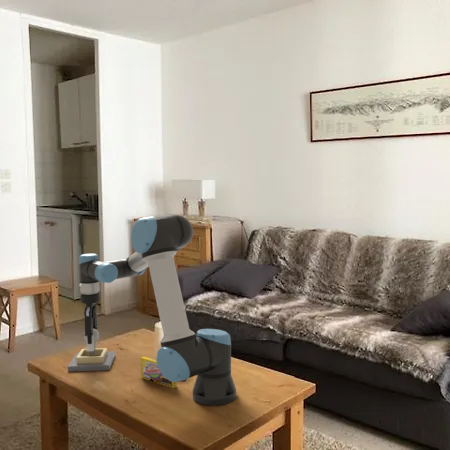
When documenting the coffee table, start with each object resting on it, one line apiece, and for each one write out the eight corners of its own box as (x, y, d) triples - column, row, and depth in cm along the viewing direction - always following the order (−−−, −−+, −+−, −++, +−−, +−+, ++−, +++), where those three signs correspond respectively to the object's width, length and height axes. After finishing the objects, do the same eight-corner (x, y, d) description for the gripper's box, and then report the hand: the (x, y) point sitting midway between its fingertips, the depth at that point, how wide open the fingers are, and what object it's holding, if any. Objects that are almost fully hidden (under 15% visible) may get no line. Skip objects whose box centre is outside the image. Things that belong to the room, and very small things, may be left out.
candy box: (140, 378, 197) (140, 357, 196) (144, 377, 199) (144, 355, 198) (173, 388, 188) (172, 366, 187) (177, 386, 189) (176, 364, 188)
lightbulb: (101, 352, 215) (101, 326, 214) (96, 357, 209) (96, 330, 208) (87, 352, 216) (86, 326, 215) (82, 357, 210) (81, 330, 209)
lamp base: (109, 370, 206) (109, 358, 205) (68, 371, 205) (67, 360, 204) (115, 355, 222) (114, 345, 221) (76, 357, 221) (76, 346, 220)
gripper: (85, 287, 219) (87, 341, 222) (75, 298, 200) (77, 356, 203) (103, 286, 220) (105, 340, 222) (95, 297, 201) (97, 356, 203)
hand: (91, 348), depth 212 cm, fingers closed on lightbulb, 6 cm apart
